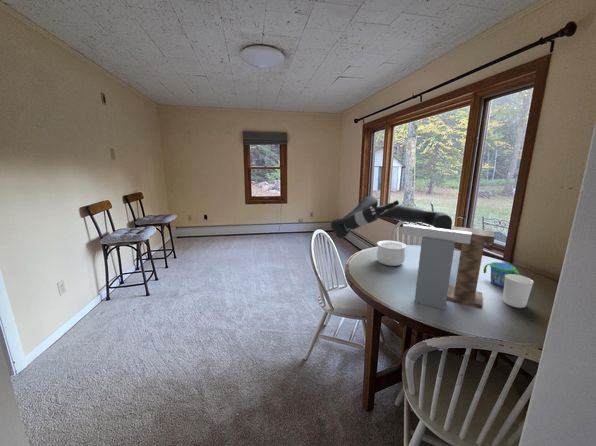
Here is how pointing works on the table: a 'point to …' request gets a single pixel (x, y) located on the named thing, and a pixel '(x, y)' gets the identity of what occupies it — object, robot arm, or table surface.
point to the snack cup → (500, 272)
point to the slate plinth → (434, 272)
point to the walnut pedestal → (470, 268)
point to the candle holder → (516, 290)
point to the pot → (391, 252)
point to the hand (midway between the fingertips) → (396, 203)
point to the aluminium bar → (437, 233)
